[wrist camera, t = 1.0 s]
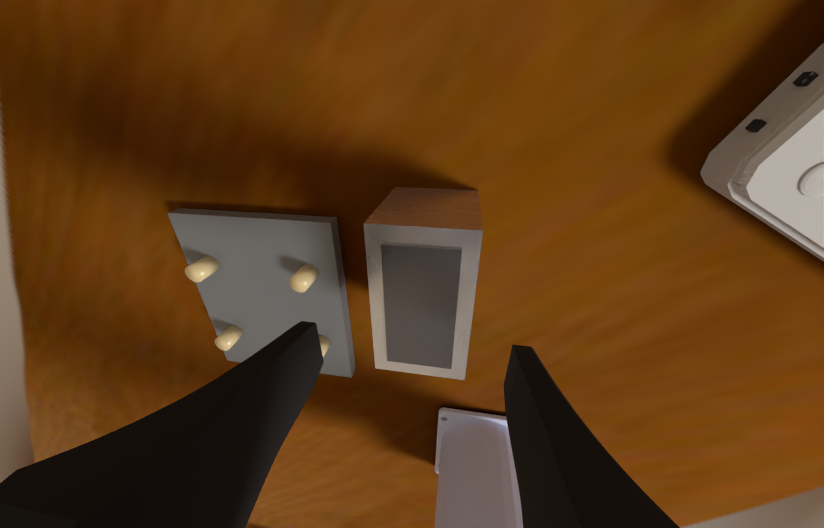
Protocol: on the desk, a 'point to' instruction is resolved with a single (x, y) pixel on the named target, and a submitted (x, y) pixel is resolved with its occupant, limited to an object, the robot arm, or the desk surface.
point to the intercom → (779, 158)
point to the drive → (423, 279)
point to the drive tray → (268, 279)
